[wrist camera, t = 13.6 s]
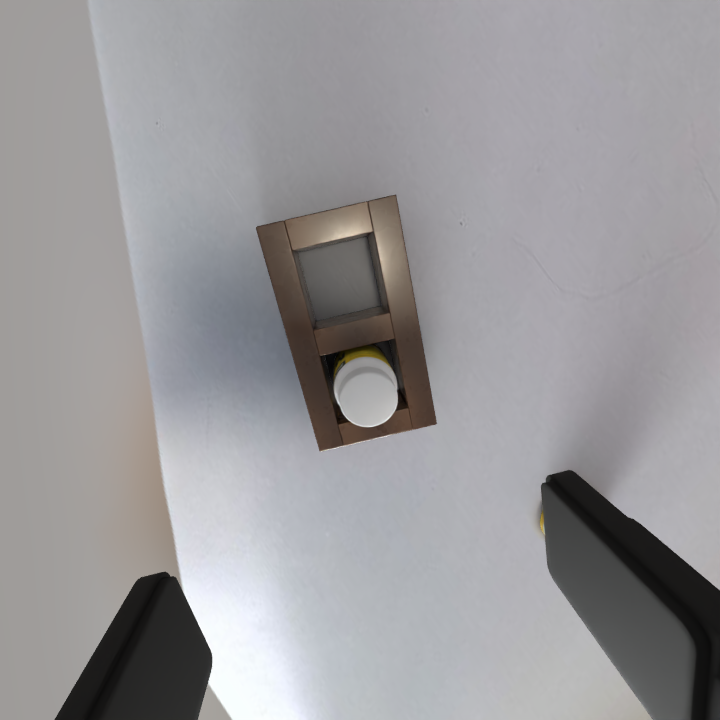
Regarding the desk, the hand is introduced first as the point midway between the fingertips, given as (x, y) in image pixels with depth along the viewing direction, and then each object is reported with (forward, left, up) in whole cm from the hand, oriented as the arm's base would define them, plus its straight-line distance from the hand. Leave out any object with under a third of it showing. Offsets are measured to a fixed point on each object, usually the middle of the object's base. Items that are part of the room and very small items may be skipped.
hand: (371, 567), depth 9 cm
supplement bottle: (+1, -2, -24) cm, 24 cm away
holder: (+1, +2, -23) cm, 24 cm away
